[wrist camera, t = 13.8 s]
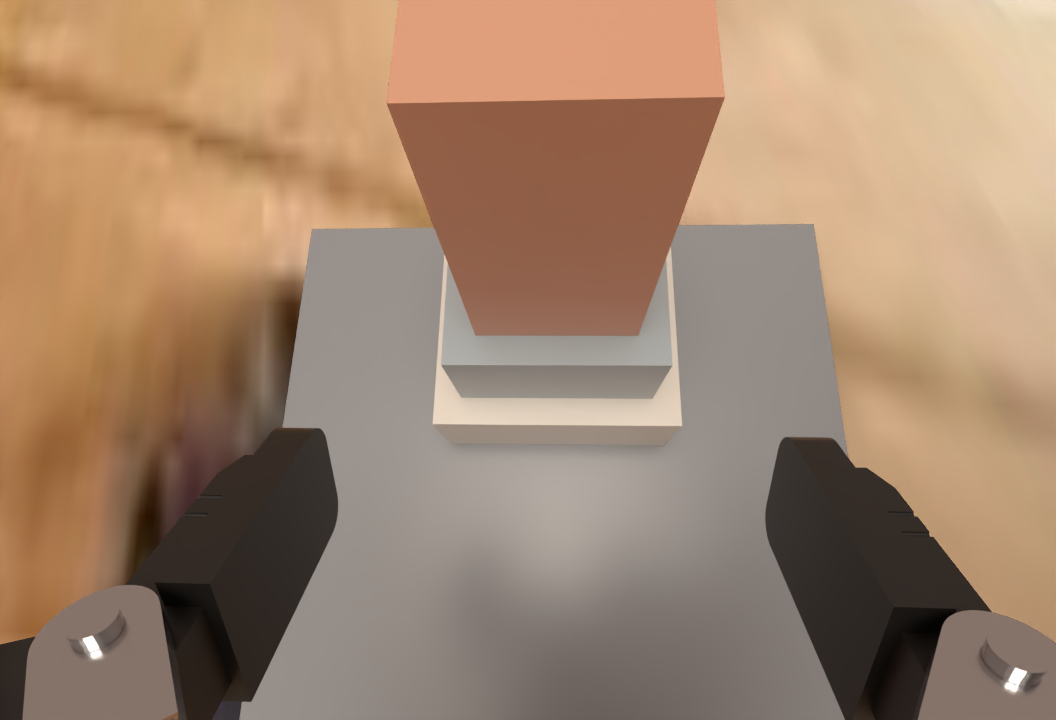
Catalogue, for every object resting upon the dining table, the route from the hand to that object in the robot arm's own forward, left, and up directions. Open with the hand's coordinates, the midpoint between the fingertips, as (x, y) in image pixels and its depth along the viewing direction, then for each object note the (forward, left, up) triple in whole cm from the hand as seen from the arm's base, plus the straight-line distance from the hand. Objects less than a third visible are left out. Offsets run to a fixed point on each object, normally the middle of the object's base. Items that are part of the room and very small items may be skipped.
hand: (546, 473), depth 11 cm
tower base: (0, -8, -14) cm, 16 cm away
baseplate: (0, -3, -15) cm, 15 cm away
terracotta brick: (0, -7, -6) cm, 10 cm away
